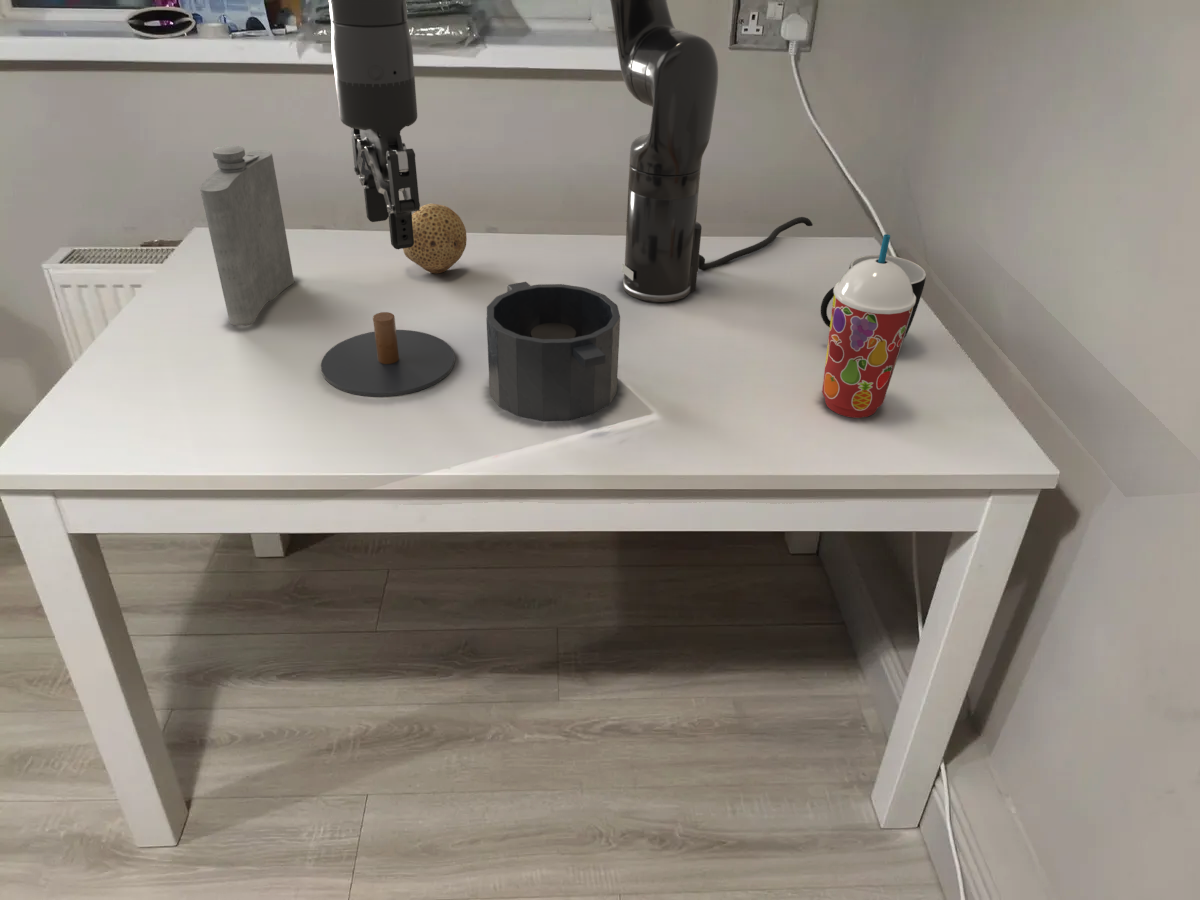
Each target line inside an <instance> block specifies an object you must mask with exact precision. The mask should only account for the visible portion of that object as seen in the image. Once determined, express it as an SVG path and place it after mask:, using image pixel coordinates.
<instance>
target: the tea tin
mask: <svg viewBox="0 0 1200 900" xmlns="http://www.w3.org/2000/svg"><path fill="white" fill-rule="evenodd" d="M530 337H533V338H539V339H571V338H575V337H576V331H575V329H574V328H572V327H571V326H569V325H566V324H562V323H544V324H540V325H538V326H536V327H534V328H533V329H532V330H531V333H530Z"/></svg>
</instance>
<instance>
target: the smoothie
mask: <svg viewBox="0 0 1200 900" xmlns="http://www.w3.org/2000/svg"><path fill="white" fill-rule="evenodd" d="M890 240H891V235H890V234H887V233H884V234H883V237H882V242H881V246H880V251H879V254H878V255H879V258H875V259H868V260H864V261H861V262H859V263H857V264H856V265H854V266H853V267H852V268H850V269H849V268H848V270H847V271H845V273H844V274H843V276H842V277H841V279H840V280H839V281H837V282H836V283H835V284H834V286H835V287H834V286H833V287H834V289H833V293H834V296H833V298H832V308H831V312H830V313H831V314H830V328H829V331H828V340H827V347H826V354H825V355H826V356H825V363H824V372H823V379H822V390H821V393H822V396H823V397H824V402H825V405H826V407H827V408H828V409H829V410H831V411H832V412H833V413H836V414H838V415H840V416H843V417H848V418H854V419H855V418H857V419H859V418H860V419H861V418H868V417H869V416H870V417H871V416H872V415H874V414H875V413H876V412H877V410H878V408H881V406H882V405H883V404H884V402H885V399H886V396H887V393H888V389H889V387H890V384H891V380H892V377H893V374H894V372H895V371H894V370H895V367H896V363H897V361H898V358H899V355H900V351H901V348H902V346H903V342H904V340H905V339H904V336H905V332H906V329H907V326H908V323H909V320H910V317H911V313H912V310H913V306H914V305H915V302H916V296H915V295H914V293H913V289H912V285H911V282H910V280H909V278H908V276H907V274H906V273H905V271H904V270H903V269H902V268H901V267H900V266H898V265H897V264H895V263H893V262H891V261H889V260H886V255H887V253H888V249H889V244H890ZM903 339H904V340H903Z"/></svg>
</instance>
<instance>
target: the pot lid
mask: <svg viewBox="0 0 1200 900" xmlns="http://www.w3.org/2000/svg"><path fill="white" fill-rule="evenodd" d="M372 321H373V322H372V323H373V330H374V331H370V332H366V333H365V332H364V333H361V334H357V335H354V336H352V337H349V338H347V339H345V340H342V341H340V342H339V343H337V344H335V345H334V346H333V347H330V349H329V350H328V351H327V352H326V353H325V354H324V356H323V358H322V359H321V363H320V367H321V374H322V376H323V378H324V379H325V381H326V382H327V383H329V384H330V385H331V386H332V387H334V388H336V389H338V390H340V391H342V392H345V393H348V394H352V395H357V396H361V397H362V396H363V397H373V398H374V397H379V398H381V397H382V398H383V397H396V396H403V395H408V394H412V393H416V392H419V391H422V390H425V389H428V388H430V387H432V386H434V385H436V384H438V383H439V382H441V381H443V380H444V379H445V378H446V377H447V376H448V375H449V374H450V373H451V372H452V371H453V368H454V367H455V359H456V358H455V352H454V350H453V348H452V347H451V346H450V345H449V343H447V342H446V341H445V340H444V339H441V338H439V337H438V336H435V335H432V334H430V333H426V332H422V331H417V330H412V329H411V330H409V329H406V330H405V329H397V327H396V318H395V314H393V313H391V312H387V311H381V312H378V313H375V314H373V317H372Z"/></svg>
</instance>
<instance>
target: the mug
mask: <svg viewBox="0 0 1200 900" xmlns="http://www.w3.org/2000/svg"><path fill="white" fill-rule="evenodd" d="M879 255H880V254H867V255H862V256H858V257H857V258H854V259H853V260H852V261H851V262H850V263H849V268H848V270H849V269H850V268H852V267H853V266H854V265H856V264H857V263H859V262H861V261H864V260H868V259H875V258H879ZM886 260H889V261H891V262H893V263H895V264H897V265H898V266H900V267H901V268H902V269H903V270H904V271H905V273H906V274H907V276H908V278H909V280H910V282H911V285H912V289H913V293H914V295H915V296H916V302H915V305H914V306H913V310H912V313H911V317H910V320H909V323H908V326H907V329H906V332H905V336H904V339H903V341H904V340H905V339H906V336H907V334H908V332H909V330H910V327H911V325H912V323H913V321H914V318H915V315H916V313H917V310H918V306H919V304H920V300H921V297H922V294H923V291H924V289H925V284H926V280H927V272H926V271H925V269H924V268H923V267H922V266H920V265H919V264H917V263H915V262H913V261H912V260H909V259H906V258H903V257H899V256H893V255H887V254H886ZM834 287H835V285H833V287H831V288H830V289H829V290H828V291H827V292H826V294H825V295H824V297H823V299H822V300H821V303H820V317H821V319H822V322H823V323H824V324H825V325H826V327H828V328H829V329H830V321H831V319H829V316H828V306H829V304H830V301H831V300H833V297H834V293H833V289H834Z"/></svg>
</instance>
